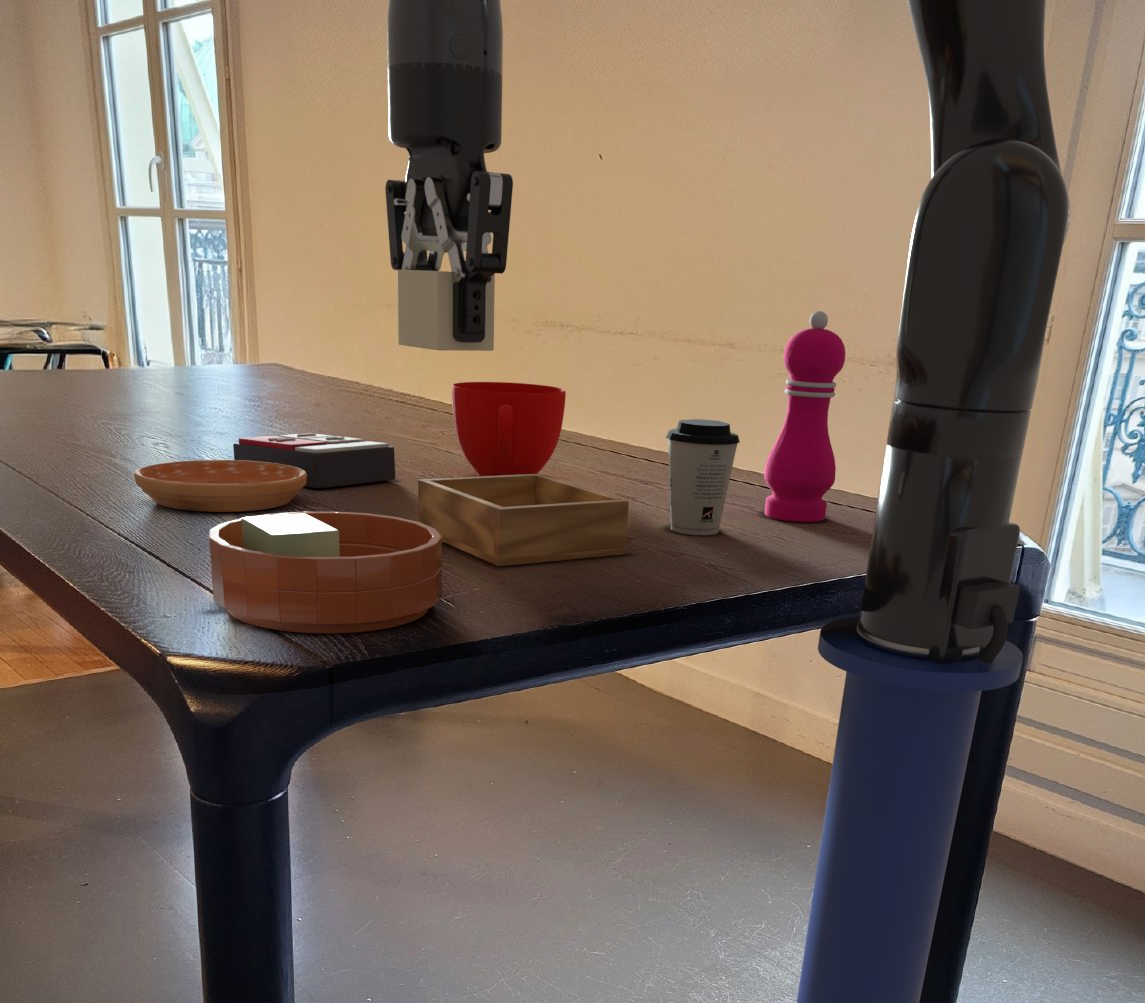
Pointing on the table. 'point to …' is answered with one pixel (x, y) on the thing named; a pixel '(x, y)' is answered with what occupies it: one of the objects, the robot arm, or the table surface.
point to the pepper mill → (805, 426)
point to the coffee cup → (699, 474)
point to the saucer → (221, 484)
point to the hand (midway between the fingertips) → (445, 338)
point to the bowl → (331, 576)
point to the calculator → (323, 457)
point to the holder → (523, 518)
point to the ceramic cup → (507, 425)
